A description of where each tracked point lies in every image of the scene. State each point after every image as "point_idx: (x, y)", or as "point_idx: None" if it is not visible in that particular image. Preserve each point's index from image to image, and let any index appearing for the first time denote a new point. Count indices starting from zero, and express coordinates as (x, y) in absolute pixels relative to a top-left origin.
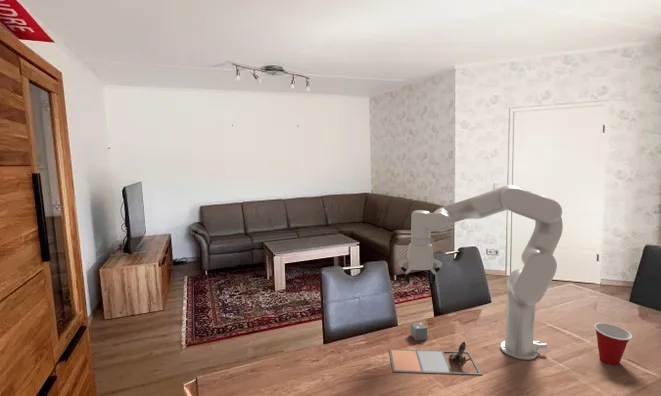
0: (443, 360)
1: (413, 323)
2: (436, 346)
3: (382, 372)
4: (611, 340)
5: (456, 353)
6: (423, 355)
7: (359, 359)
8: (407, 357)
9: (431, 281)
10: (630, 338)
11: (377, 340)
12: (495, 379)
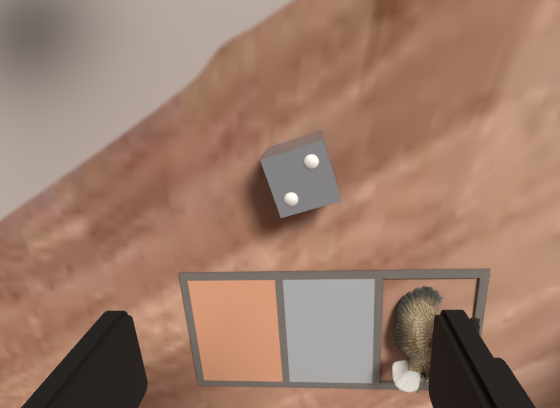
0: (367, 329)
1: (274, 158)
2: (365, 237)
3: (169, 384)
4: None
5: (425, 324)
6: (301, 305)
7: None
8: (244, 319)
9: (437, 395)
10: None
11: (128, 210)
12: None
